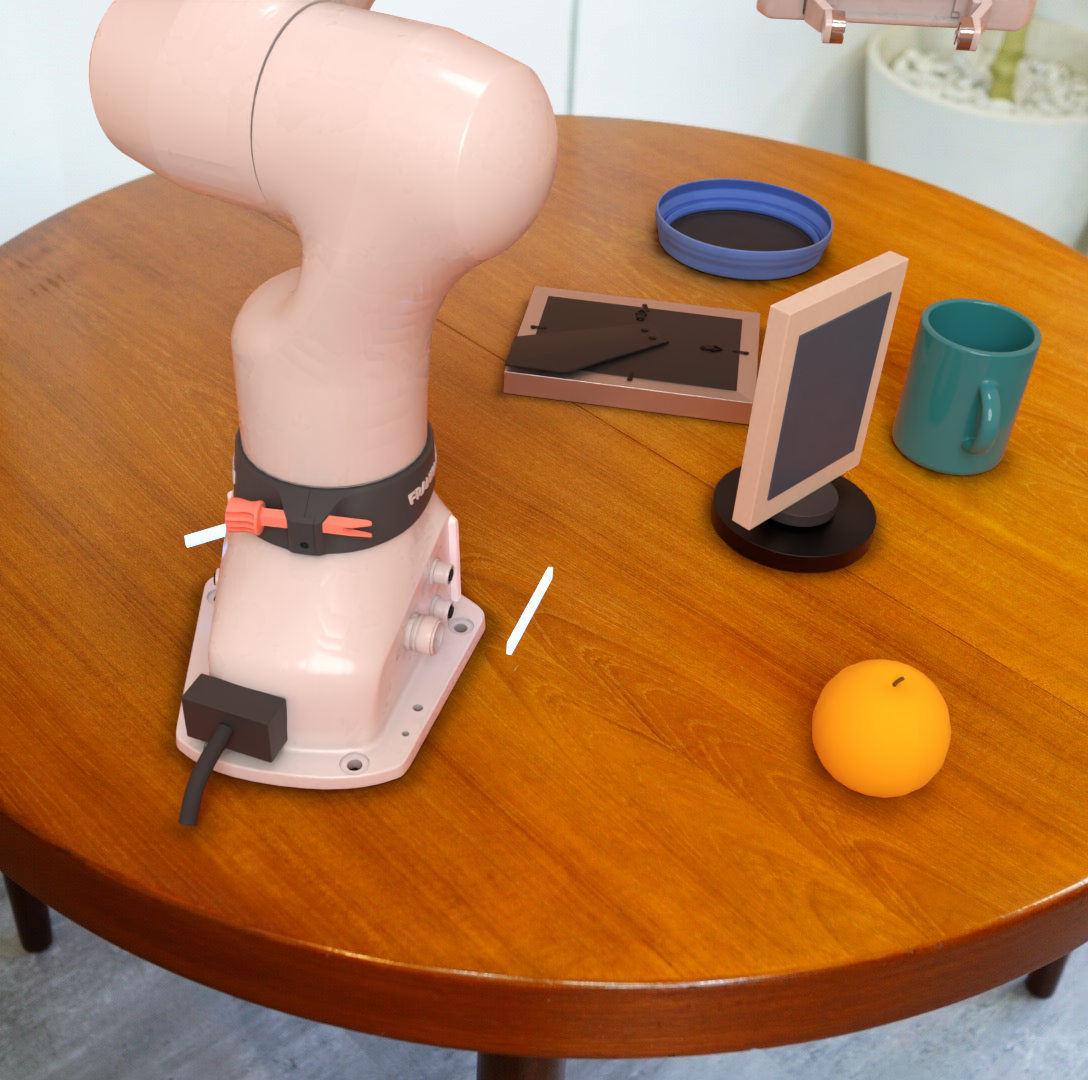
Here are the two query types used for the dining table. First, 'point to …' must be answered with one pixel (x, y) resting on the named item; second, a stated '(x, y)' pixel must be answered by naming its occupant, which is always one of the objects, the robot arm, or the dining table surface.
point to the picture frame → (636, 355)
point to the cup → (964, 385)
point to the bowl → (742, 228)
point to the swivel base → (798, 531)
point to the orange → (881, 728)
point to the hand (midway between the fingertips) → (901, 38)
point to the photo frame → (816, 393)
